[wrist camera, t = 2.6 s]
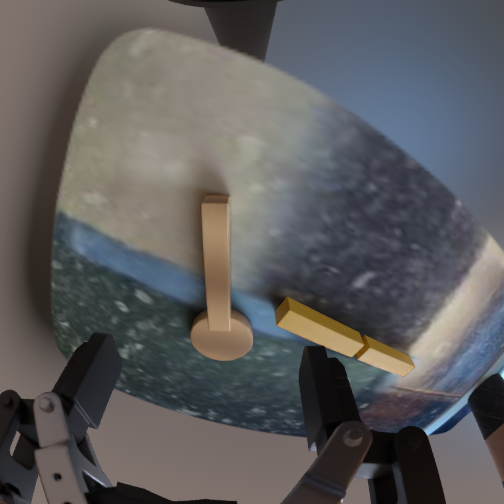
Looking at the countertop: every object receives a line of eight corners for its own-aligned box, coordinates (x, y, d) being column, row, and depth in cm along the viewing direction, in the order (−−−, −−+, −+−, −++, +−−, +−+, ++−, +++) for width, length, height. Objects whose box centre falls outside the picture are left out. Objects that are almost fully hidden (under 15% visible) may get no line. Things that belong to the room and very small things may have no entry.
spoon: (179, 194, 15) (172, 202, 14) (257, 195, 15) (258, 203, 14) (195, 350, 20) (192, 364, 19) (252, 352, 20) (252, 367, 19)
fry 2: (351, 346, 20) (356, 359, 19) (364, 334, 20) (370, 347, 18) (398, 366, 22) (404, 377, 20) (409, 356, 21) (415, 367, 20)
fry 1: (274, 311, 19) (275, 325, 17) (287, 295, 18) (289, 309, 17) (346, 344, 20) (351, 357, 19) (359, 332, 20) (364, 345, 18)
